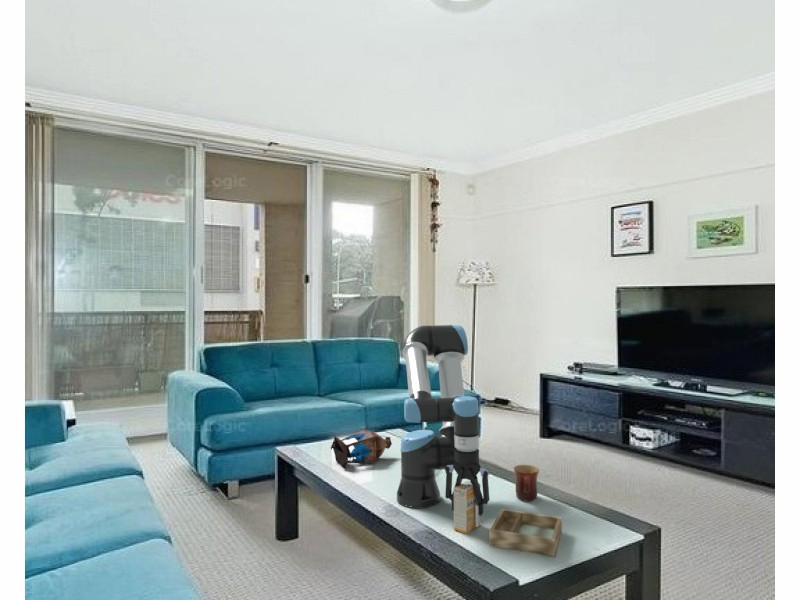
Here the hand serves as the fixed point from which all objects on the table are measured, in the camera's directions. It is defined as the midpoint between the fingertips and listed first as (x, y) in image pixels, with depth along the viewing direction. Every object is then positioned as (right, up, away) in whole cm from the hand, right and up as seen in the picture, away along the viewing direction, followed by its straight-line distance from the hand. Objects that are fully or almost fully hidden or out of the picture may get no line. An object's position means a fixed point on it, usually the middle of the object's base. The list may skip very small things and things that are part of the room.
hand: (467, 523), depth 165 cm
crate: (+16, -1, -8) cm, 18 cm away
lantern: (-36, -1, +64) cm, 74 cm away
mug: (+23, -1, +21) cm, 31 cm away
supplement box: (0, -2, 0) cm, 2 cm away
